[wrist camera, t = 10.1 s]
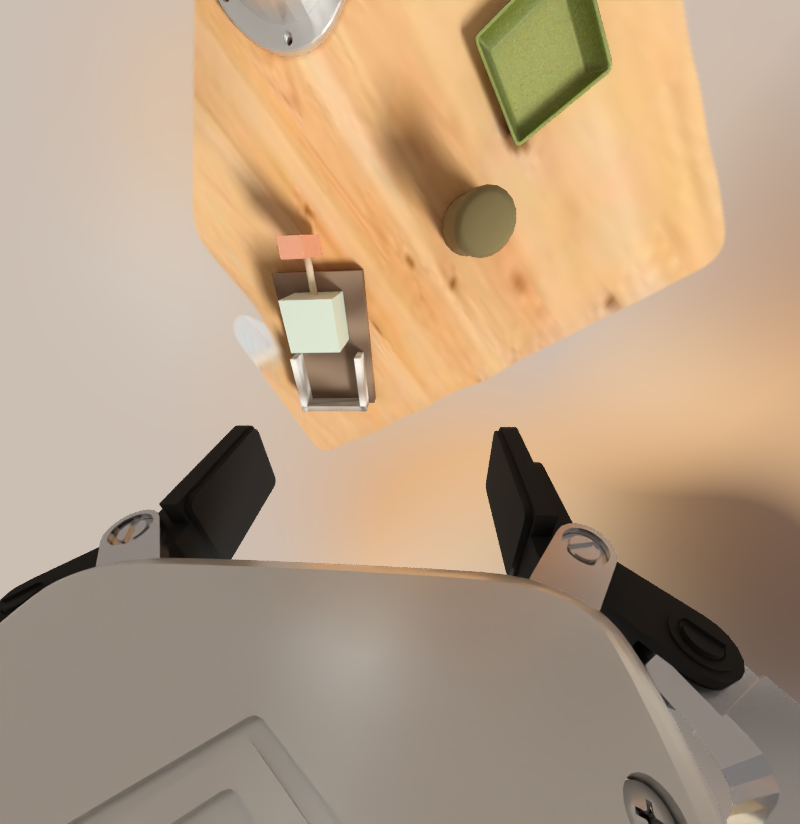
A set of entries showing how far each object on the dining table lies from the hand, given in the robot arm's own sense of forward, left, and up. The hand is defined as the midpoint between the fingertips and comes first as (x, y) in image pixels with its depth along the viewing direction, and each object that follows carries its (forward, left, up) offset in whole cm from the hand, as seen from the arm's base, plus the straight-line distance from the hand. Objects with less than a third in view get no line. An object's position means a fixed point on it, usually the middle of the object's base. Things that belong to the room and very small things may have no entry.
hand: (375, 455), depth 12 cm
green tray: (-20, +12, -31) cm, 39 cm away
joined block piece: (-2, -11, -29) cm, 31 cm away
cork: (-8, +7, -31) cm, 32 cm away
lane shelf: (+5, -11, -30) cm, 33 cm away
